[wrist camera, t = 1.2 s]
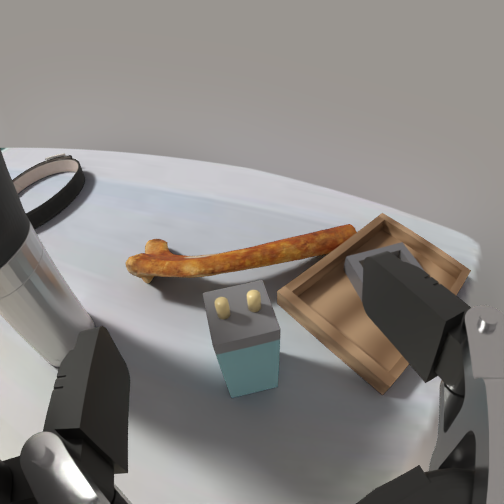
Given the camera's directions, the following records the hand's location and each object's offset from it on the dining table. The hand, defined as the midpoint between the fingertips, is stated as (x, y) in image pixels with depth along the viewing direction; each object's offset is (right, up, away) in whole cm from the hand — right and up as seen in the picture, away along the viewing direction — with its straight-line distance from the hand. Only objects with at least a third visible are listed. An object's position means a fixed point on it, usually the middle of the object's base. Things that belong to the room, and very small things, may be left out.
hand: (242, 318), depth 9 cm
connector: (0, -11, +23) cm, 25 cm away
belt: (-54, +15, +55) cm, 78 cm away
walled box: (+18, -3, +29) cm, 34 cm away
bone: (0, 0, +35) cm, 35 cm away
